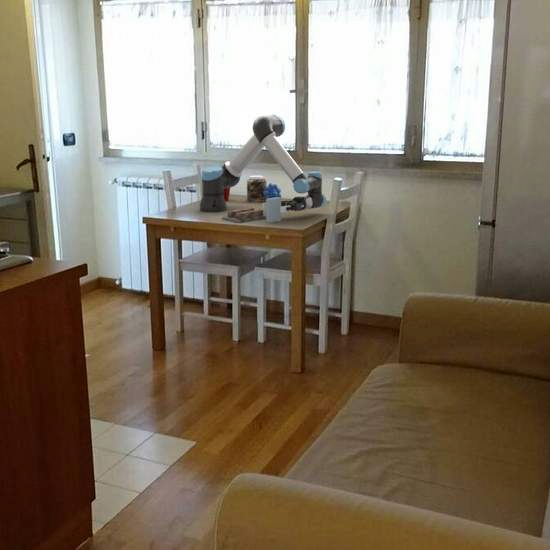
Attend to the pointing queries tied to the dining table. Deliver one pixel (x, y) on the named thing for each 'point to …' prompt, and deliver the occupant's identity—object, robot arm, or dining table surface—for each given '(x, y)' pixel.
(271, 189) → the blue gear
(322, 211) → the dining table surface
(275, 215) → the pale grey panel
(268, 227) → the dining table surface
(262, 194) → the jar
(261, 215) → the slot rack
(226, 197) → the plastic cup
